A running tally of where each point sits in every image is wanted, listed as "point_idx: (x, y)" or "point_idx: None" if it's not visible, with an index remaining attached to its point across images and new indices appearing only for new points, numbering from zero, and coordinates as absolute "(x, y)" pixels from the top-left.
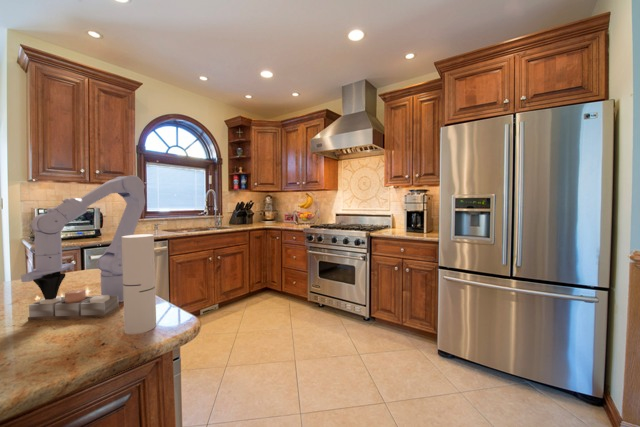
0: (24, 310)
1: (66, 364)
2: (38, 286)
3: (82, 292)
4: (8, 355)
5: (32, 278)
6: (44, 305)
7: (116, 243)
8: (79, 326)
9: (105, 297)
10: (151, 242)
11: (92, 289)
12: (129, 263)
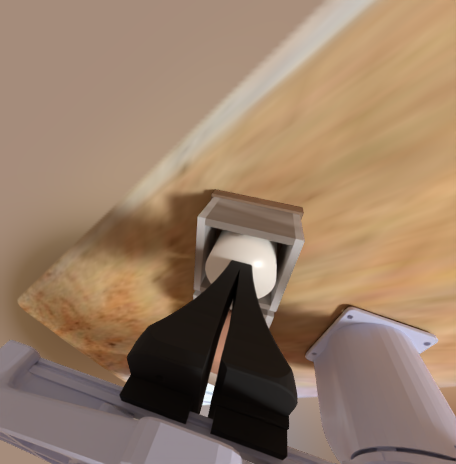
0: (389, 57)
1: (68, 324)
2: (191, 301)
3: (213, 371)
4: (63, 260)
5: (50, 384)
6: (195, 265)
7: None
8: (165, 312)
9: (213, 382)
10: None
11: None
12: None
